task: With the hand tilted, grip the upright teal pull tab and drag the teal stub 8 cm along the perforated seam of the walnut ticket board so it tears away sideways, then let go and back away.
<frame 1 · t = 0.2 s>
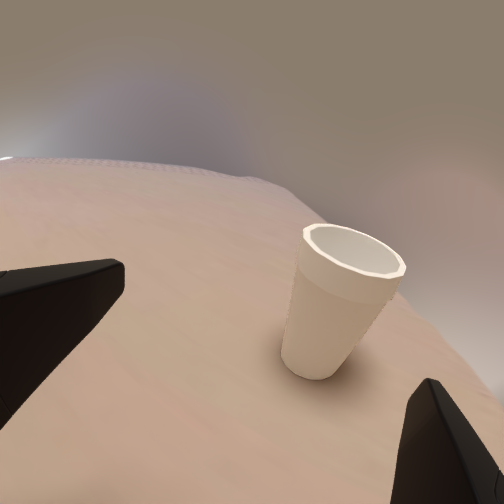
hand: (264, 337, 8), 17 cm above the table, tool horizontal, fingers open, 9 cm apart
foam cup: (308, 358, 31), on the table
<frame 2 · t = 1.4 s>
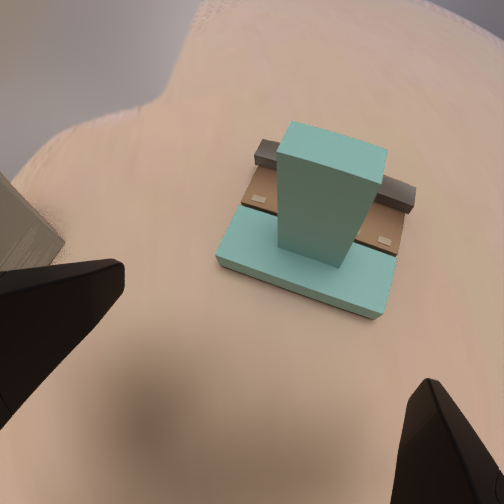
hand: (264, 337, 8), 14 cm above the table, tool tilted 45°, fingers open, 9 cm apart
skincare box: (35, 246, 26), on the table
stub: (315, 230, 17), point 6 cm above the table, slide at 0.0 cm
ticket board: (315, 240, 23), on the table
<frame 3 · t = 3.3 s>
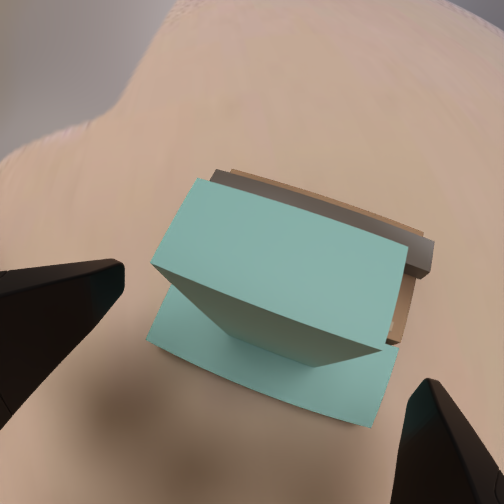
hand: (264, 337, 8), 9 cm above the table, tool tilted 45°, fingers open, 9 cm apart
stub: (269, 341, 10), point 6 cm above the table, slide at 0.0 cm
ticket board: (288, 313, 17), on the table
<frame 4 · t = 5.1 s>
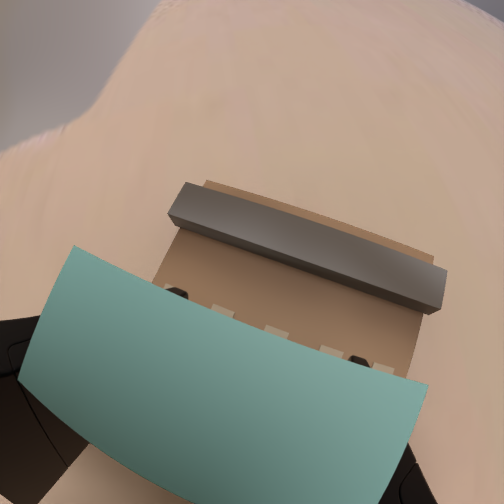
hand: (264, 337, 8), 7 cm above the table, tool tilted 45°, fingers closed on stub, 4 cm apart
stub: (234, 413, 8), point 6 cm above the table, slide at 0.0 cm, touching gripper
ticket board: (271, 351, 14), on the table
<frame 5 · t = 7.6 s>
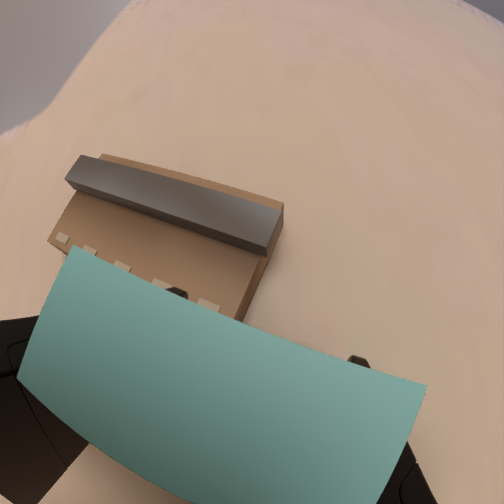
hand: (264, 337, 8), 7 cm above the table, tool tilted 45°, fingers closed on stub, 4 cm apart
stub: (233, 413, 8), point 6 cm above the table, slide at 7.9 cm, touching gripper
ticket board: (135, 292, 16), on the table
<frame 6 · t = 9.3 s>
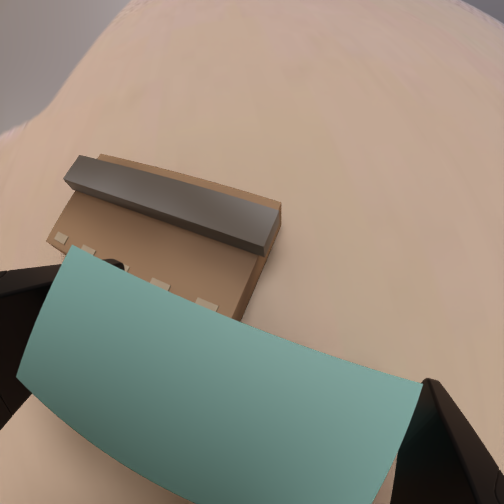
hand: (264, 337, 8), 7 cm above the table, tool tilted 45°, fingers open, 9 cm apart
stub: (232, 412, 8), point 6 cm above the table, slide at 7.9 cm
ticket board: (134, 292, 16), on the table
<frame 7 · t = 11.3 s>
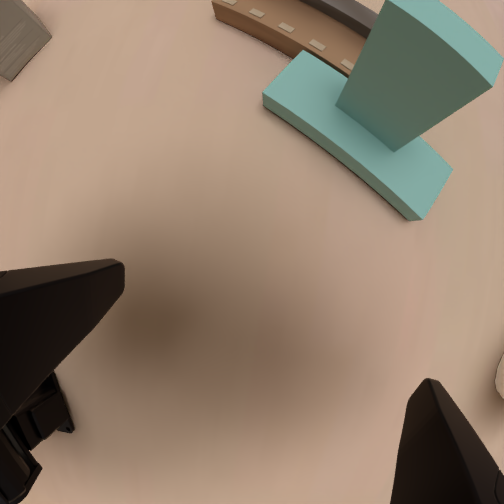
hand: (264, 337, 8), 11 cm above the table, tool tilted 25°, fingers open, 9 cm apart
skincare box: (26, 44, 20), on the table
stub: (388, 102, 12), point 6 cm above the table, slide at 7.9 cm
ticket board: (280, 51, 18), on the table
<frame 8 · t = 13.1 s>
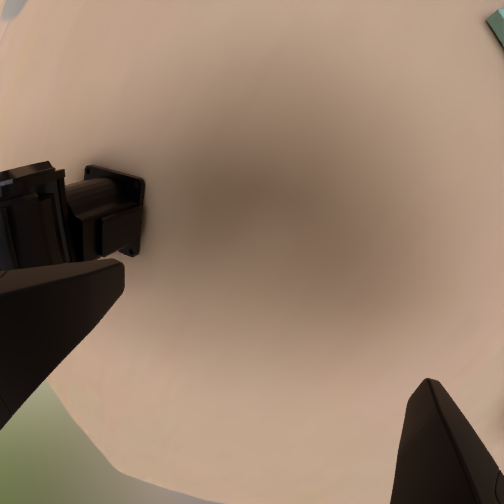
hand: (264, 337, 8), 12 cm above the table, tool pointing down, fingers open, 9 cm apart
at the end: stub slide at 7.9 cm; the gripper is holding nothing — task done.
